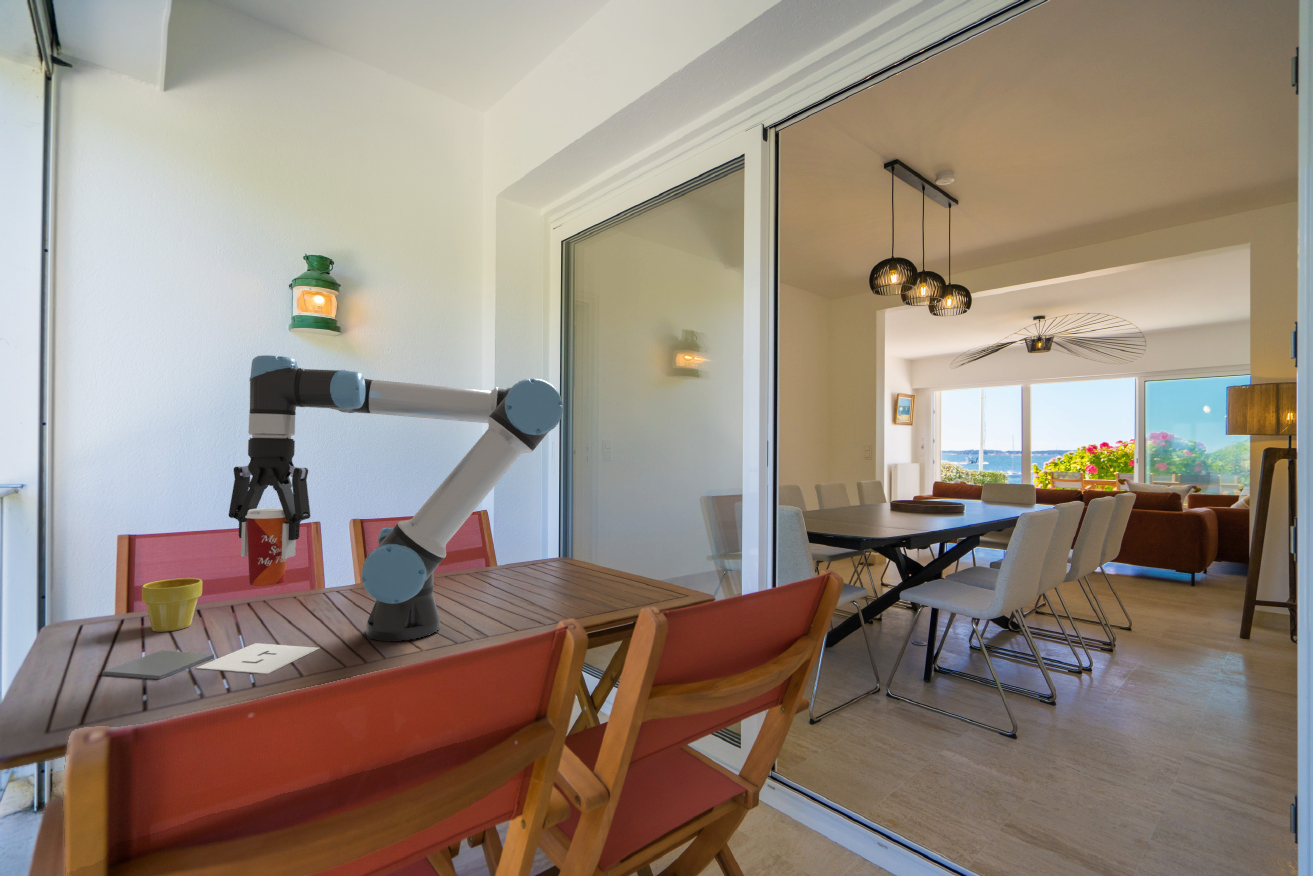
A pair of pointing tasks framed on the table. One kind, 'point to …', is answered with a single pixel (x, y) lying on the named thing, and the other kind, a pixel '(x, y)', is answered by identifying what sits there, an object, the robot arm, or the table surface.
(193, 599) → the plant pot
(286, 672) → the table surface
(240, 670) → the tile
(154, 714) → the table surface
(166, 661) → the slate coaster
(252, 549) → the paper cup
